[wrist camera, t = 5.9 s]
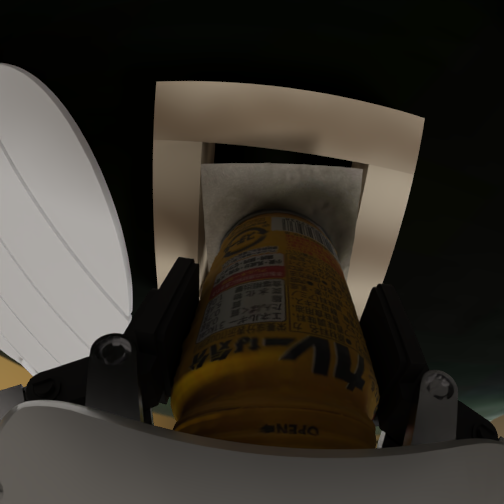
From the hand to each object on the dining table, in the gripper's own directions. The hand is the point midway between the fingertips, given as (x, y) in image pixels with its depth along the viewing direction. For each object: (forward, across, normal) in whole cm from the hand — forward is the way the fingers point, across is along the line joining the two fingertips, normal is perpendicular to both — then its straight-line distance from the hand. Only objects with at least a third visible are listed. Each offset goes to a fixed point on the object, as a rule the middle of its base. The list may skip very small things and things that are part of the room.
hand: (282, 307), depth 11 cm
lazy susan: (+10, +31, +7) cm, 34 cm away
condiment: (+5, 0, 0) cm, 5 cm away
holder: (+10, 0, 0) cm, 10 cm away
